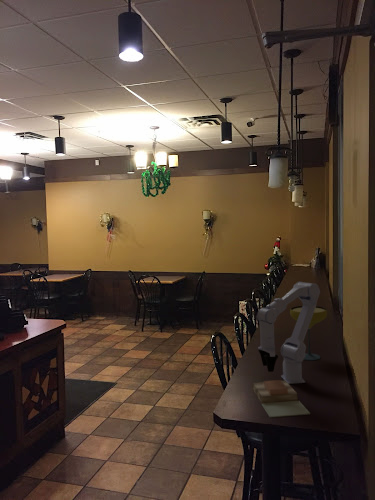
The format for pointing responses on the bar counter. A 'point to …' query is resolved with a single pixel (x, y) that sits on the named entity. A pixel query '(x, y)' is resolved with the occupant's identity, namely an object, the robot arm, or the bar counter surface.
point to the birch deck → (274, 398)
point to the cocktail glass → (310, 325)
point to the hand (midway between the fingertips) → (268, 368)
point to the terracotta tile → (275, 387)
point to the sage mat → (285, 409)
